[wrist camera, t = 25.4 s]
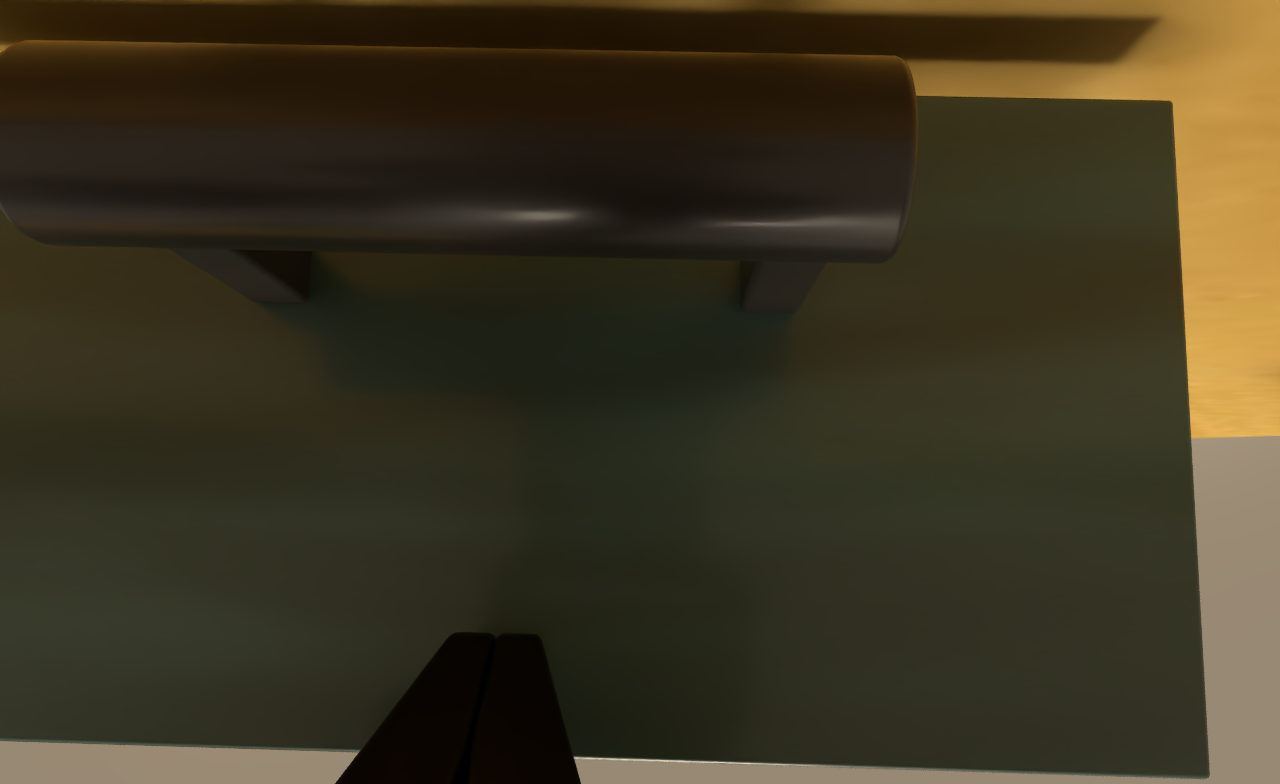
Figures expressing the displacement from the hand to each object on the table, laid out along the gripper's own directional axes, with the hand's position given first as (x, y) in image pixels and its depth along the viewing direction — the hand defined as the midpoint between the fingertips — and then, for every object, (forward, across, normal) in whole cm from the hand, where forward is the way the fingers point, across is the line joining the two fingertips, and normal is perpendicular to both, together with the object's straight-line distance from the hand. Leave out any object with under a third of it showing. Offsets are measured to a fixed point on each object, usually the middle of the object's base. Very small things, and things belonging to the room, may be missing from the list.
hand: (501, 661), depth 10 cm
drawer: (+7, 0, -2) cm, 7 cm away
